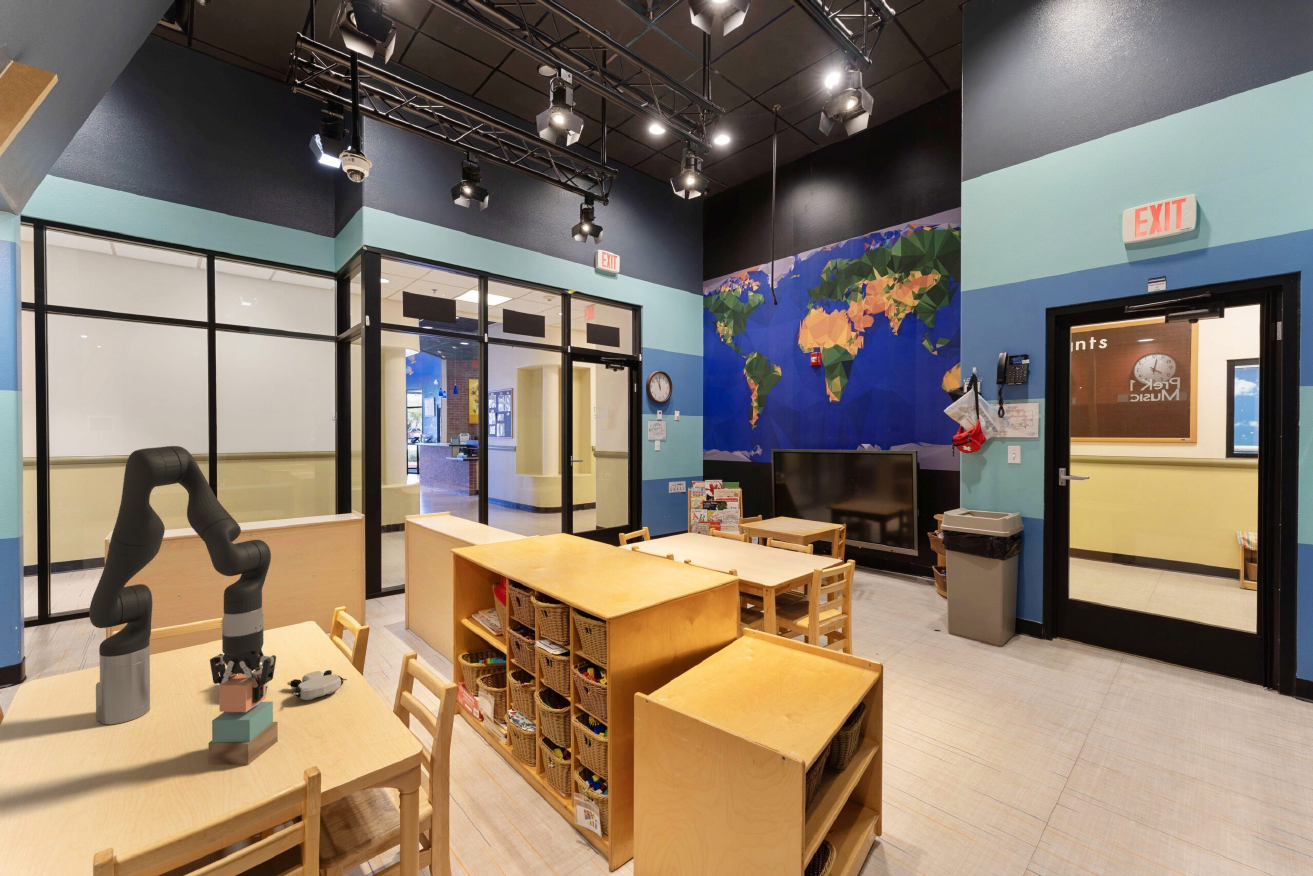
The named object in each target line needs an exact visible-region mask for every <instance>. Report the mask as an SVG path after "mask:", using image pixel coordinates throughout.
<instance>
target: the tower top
mask: <svg viewBox="0 0 1313 876" xmlns="http://www.w3.org/2000/svg"><path fill="white" fill-rule="evenodd" d="M273 722H274V702H273V701H262V702H260V703H259V704H257V705H256V706H254V707H253V708H251V709H250V710H248V711H247V712H221V713H220V714H219V715H218V716H217V717H215V718H213V719H212V721H211V729H212V730H211V732H212V733H211V741H212V743H220V742H250V741H251V740H253V739H254V738H255V737H256V736H257V735H258V734H260V733H261V732H262V731H263V730H264V729H265V728H267V727H268V726H269V725H270V724H271V723H273Z"/></svg>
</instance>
